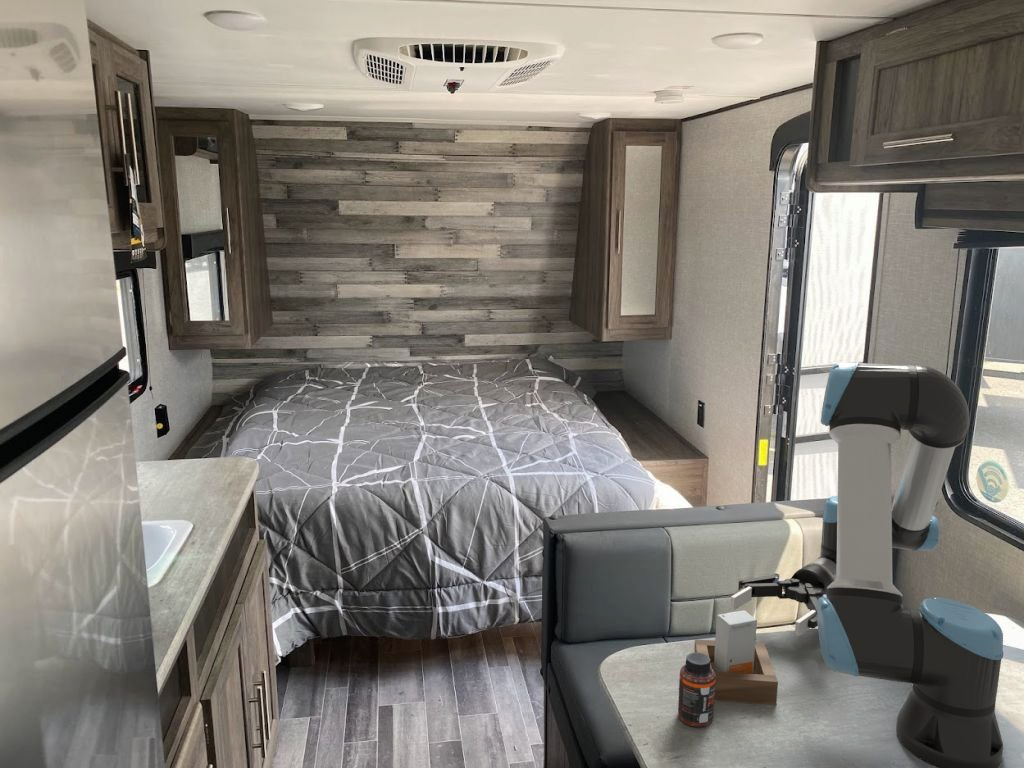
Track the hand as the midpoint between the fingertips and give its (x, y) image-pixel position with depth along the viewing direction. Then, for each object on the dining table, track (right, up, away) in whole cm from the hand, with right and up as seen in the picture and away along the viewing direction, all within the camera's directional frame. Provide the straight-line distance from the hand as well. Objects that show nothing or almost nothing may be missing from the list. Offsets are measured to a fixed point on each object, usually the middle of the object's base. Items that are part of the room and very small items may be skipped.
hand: (763, 615), depth 150 cm
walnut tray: (-7, -11, -5) cm, 14 cm away
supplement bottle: (-17, -13, -15) cm, 26 cm away
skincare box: (-7, -10, -5) cm, 13 cm away
